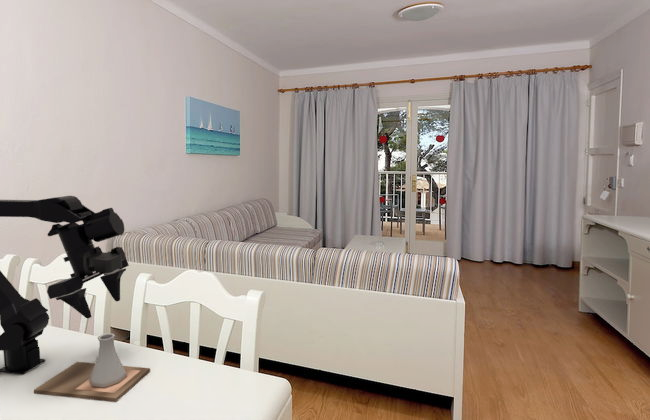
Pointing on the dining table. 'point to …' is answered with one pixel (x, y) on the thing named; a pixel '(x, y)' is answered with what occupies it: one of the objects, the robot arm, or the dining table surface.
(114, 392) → the walnut board
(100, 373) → the flask
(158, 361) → the dining table surface
